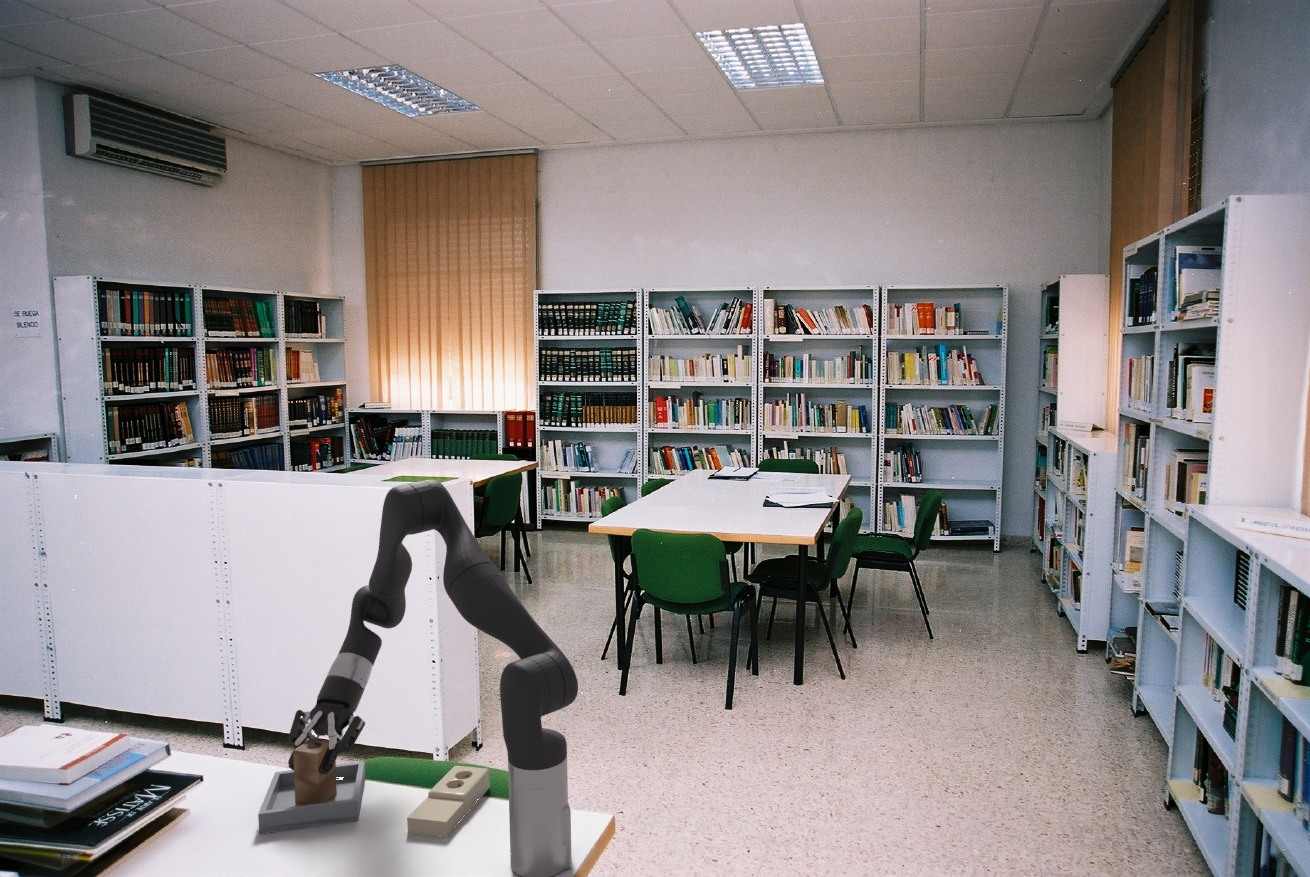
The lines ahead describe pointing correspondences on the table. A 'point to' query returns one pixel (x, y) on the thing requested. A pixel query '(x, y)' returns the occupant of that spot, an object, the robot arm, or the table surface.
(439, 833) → the electrical outlet
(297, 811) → the tray
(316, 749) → the block
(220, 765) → the table surface
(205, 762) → the table surface
